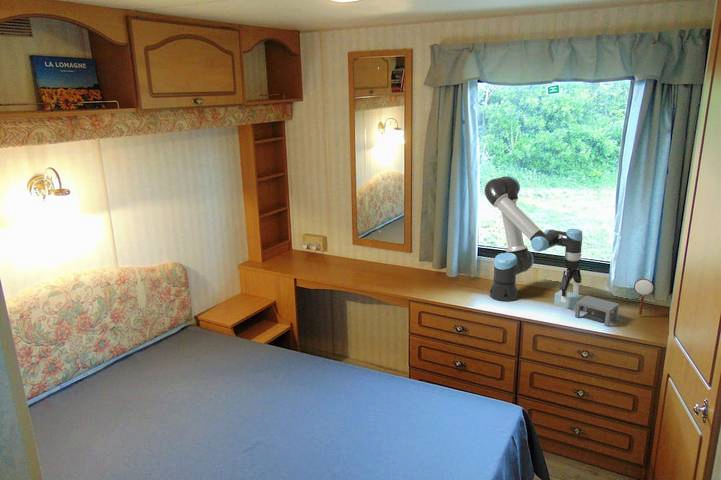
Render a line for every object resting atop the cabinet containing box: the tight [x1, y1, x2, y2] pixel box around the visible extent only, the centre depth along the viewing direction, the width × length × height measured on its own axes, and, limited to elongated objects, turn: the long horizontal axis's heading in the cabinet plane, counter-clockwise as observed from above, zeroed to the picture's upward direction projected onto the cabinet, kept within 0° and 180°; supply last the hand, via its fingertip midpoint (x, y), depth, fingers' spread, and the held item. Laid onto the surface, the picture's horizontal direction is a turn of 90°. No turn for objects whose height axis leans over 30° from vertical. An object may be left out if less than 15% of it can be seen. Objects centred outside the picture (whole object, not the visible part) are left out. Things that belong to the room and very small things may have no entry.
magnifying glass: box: [633, 278, 655, 317], centre depth 259 cm, size 9×2×20 cm, turn 57°
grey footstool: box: [574, 295, 620, 328], centre depth 260 cm, size 16×12×8 cm
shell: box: [553, 289, 584, 311], centre depth 276 cm, size 12×7×6 cm, turn 45°
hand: (569, 298), depth 275 cm, fingers open, 13 cm apart
